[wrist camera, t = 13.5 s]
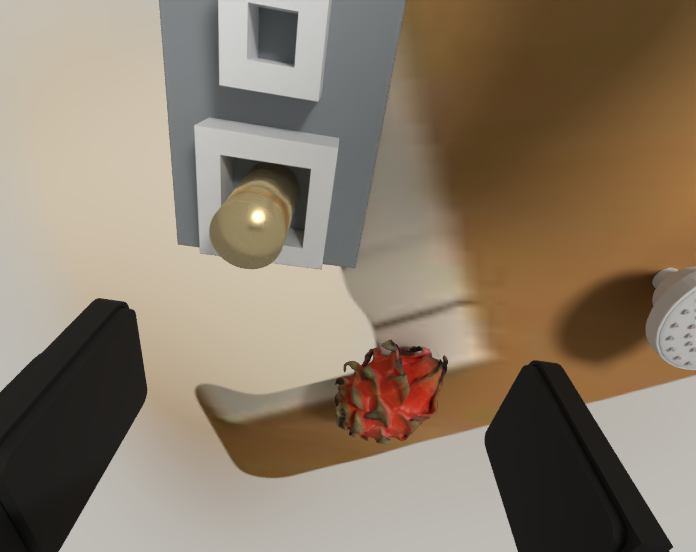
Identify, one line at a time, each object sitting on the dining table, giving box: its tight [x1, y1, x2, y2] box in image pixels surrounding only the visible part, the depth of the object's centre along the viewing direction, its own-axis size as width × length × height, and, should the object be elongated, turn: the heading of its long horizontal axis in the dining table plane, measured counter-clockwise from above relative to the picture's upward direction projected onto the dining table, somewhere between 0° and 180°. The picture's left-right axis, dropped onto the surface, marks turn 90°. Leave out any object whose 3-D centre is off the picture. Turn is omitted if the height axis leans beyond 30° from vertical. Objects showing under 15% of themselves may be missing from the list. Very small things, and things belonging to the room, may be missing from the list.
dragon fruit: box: [335, 340, 448, 444], centre depth 36 cm, size 8×8×12 cm
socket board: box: [159, 0, 406, 269], centre depth 25 cm, size 20×14×4 cm
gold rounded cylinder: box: [209, 162, 300, 269], centre depth 25 cm, size 4×4×8 cm
